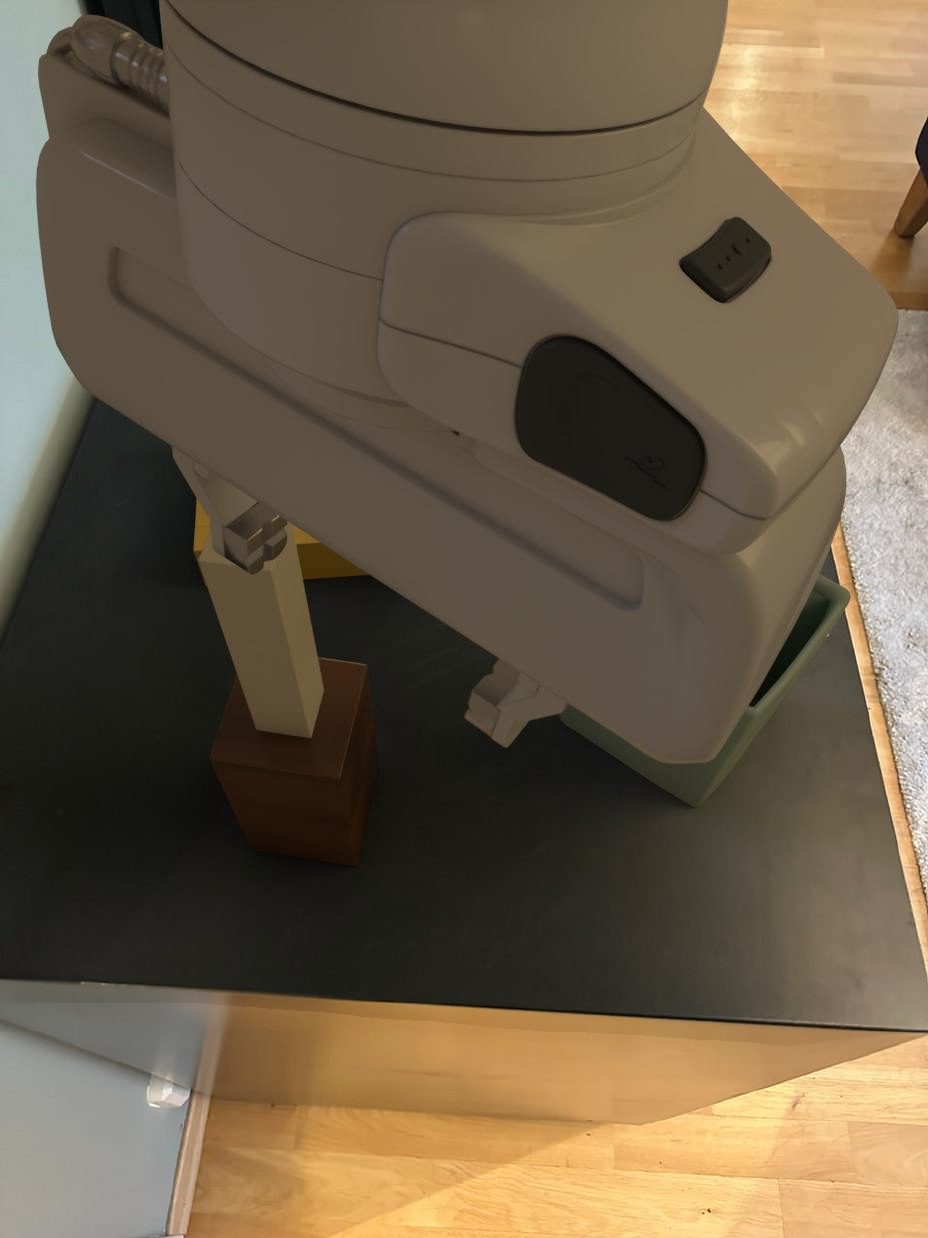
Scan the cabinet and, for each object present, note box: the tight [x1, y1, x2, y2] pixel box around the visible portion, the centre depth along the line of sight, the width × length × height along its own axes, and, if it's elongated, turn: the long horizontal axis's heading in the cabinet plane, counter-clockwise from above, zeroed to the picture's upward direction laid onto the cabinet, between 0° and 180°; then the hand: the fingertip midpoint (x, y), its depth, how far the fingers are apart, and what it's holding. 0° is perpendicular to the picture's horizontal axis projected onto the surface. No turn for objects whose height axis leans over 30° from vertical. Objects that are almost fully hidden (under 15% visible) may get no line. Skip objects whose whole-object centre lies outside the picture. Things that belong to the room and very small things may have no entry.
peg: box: [198, 521, 324, 738], centre depth 44 cm, size 3×3×15 cm
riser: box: [208, 657, 379, 868], centre depth 56 cm, size 7×7×14 cm
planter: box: [559, 573, 852, 808], centre depth 56 cm, size 16×8×20 cm, turn 96°
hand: (369, 632), depth 28 cm, fingers open, 8 cm apart
